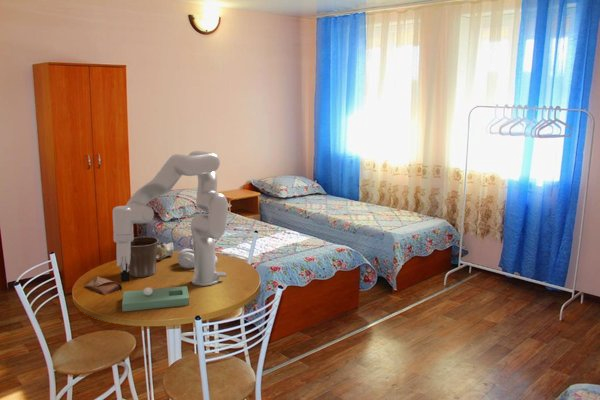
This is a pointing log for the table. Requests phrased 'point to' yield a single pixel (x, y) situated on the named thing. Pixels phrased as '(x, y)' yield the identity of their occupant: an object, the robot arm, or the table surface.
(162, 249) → the ceramic sculpture
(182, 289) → the green board
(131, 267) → the plant pot
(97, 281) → the sunglasses case
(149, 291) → the ball
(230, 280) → the table surface
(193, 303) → the table surface
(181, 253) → the headphones
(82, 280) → the table surface
